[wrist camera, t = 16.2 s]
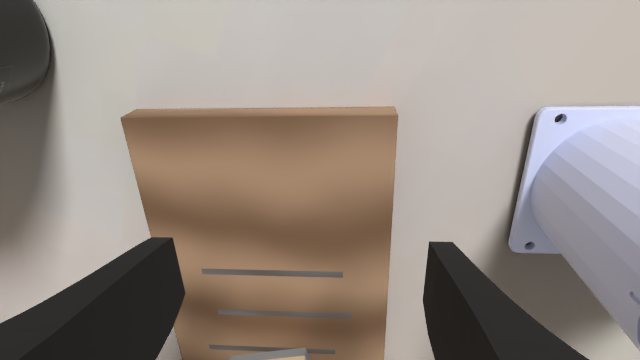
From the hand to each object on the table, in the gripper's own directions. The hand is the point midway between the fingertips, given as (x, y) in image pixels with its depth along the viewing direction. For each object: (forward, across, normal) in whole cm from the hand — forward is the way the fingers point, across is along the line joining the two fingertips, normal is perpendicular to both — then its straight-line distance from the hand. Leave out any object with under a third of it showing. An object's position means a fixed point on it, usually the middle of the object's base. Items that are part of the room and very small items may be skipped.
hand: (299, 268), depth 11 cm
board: (+10, +3, +10) cm, 14 cm away
